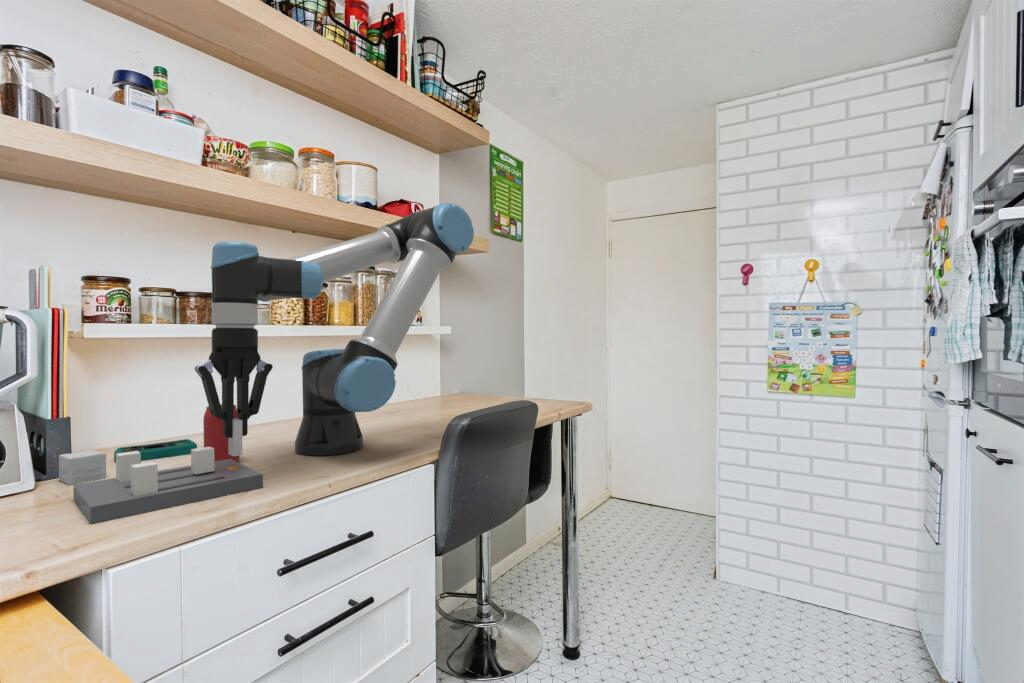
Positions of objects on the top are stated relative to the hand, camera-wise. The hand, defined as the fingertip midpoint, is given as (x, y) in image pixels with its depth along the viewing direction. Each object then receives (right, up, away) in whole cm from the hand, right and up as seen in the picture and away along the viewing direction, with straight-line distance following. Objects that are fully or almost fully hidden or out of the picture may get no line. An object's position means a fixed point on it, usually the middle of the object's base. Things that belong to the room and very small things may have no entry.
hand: (235, 454), depth 96 cm
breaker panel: (-7, -5, -7) cm, 11 cm away
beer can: (-10, -5, +13) cm, 17 cm away
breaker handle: (-4, -2, -4) cm, 6 cm away
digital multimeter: (-28, -5, +20) cm, 35 cm away
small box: (-29, -5, +1) cm, 30 cm away
